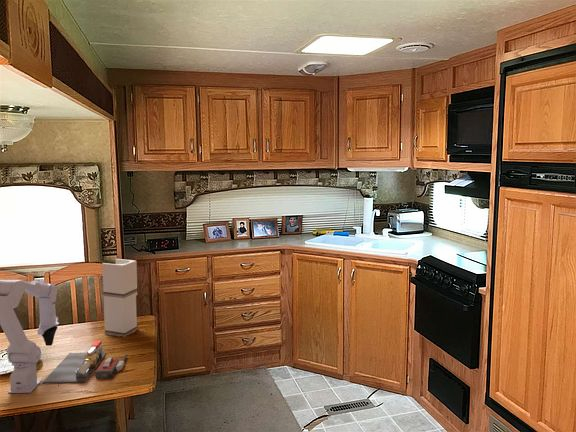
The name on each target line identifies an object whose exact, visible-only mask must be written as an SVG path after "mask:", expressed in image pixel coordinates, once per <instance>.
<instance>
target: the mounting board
mask: <svg viewBox="0 0 576 432" xmlns="http://www.w3.org/2000/svg"><path fill="white" fill-rule="evenodd" d="M85 354H87V352H69V353H68V354H67V355H66V357H64V358H63V360H61V362H60V363H58V365H57V366H56V367H55V368H53V370H52V371H51V372H50V374H48V375H47V376H46V377H45V379H44V380H42V384H85V383H86V382H87V380H88V379H89V377H91V375H92V374H93V372H94V370H95V369H96V368H98V365H100V364H101V362H102V361H103V360H104V359H103V358H105V356H106V355H107V353H106V352H104V356H103V357H102V358H98V360H97V361H96V364H97V366H96V367H94V368H91V369H89V376H88V377H87V378H76V371H77V370H78V369H79V368H80V367H81V366H82V362H83V361H84V360H85V357H84V355H85Z"/></svg>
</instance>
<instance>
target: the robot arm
mask: <svg viewBox="0 0 576 432" xmlns="http://www.w3.org/2000/svg"><path fill="white" fill-rule="evenodd" d="M58 291H59V289H58V287H57V286H56V285H55V284H54V283H47V281H41V279H34V280H32V281H27V280H22V279H0V328H1V329H2V330H3V333H4V335H5V337H6V339H7V341H8V342H9V345H8V346H7V348H6V353H7V360H8V362H9V363H11V366H12V367H13V371H12V372H11V374H10V376H9V383H10V384H9V385H10V389H9V390H8V392H7V393H9V394H27V393H28V394H30V393H32V392H33V391H34V390H35V388H37V387H38V385H40V383H41V382H43V380H42V379H41V378H40V379H38V375H37V374H38V373H37V363H38V362H39V360H40V359H41V355H42V350H41V348H40V346H38V345H37V344H36V342H35V341H33V340H30V339H29V338H27V335H26V333H25V331H24V329H23V326H22V325H21V323H20V321H19V319H18V316H17V314H16V312H15V310H14V309H17V307H18V306H19V304H20V301H21V299H22V296H24V295H23V294H24V293H25V292H26V294H28V296H31V297H35V298H37V299H38V306H39V307H38V308H39V326H38V329H37V335H38V336H39V335H40V336H41V337H42V338H43V340H44V341H43V342H44V344H45V346H50V347H51V346H52V345H53V344H54V339H55V335H56V332H57V330H58V326H59V324H60V322H59V317H58V316H56V312H57V311H56V301H57V294H58Z"/></svg>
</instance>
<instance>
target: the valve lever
mask: <svg viewBox="0 0 576 432" xmlns="http://www.w3.org/2000/svg"><path fill="white" fill-rule="evenodd" d="M101 345H102V340H99V339H98V340H94V341H93V343H92V344H91V346H90V347H91V348H90V349H89V350H88V351H86V353H87V355H93V354H94V351H95V349H98V347H99V346H101Z"/></svg>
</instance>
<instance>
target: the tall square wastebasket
mask: <svg viewBox="0 0 576 432" xmlns="http://www.w3.org/2000/svg"><path fill="white" fill-rule="evenodd" d="M137 263H138V262H137V260H133V259H122V258H115V263H109V262H108V263H105V262H102V266H101V267H102V268H101V269H102V292H103V316H104V320H103V321H104V323H103V324H104V334H105V335H107V334H108V335H109V336H114V335H116V336H115V337H120V336H123V337H122V338H126V337H128V336H129V334H130V333H131V334H133V333H134V332H133V331H135V330H136V329H138V330H139V325H138V320H137V296H138V271H137V270H138V266H137V265H138V264H137ZM132 332H133V333H132ZM135 332H136V331H135ZM131 334H130V335H131ZM127 335H128V336H127ZM125 336H126V337H125Z"/></svg>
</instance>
